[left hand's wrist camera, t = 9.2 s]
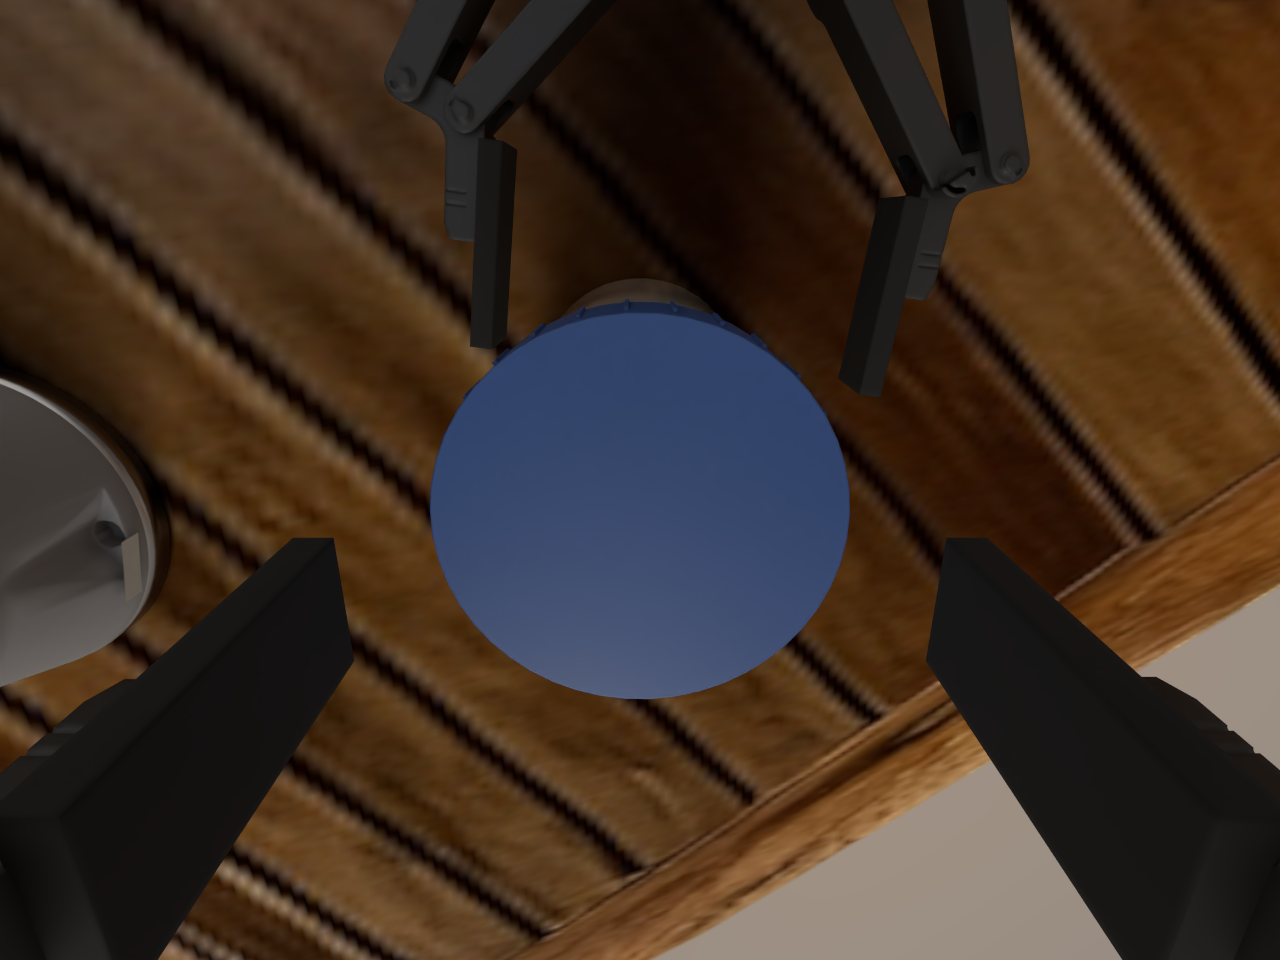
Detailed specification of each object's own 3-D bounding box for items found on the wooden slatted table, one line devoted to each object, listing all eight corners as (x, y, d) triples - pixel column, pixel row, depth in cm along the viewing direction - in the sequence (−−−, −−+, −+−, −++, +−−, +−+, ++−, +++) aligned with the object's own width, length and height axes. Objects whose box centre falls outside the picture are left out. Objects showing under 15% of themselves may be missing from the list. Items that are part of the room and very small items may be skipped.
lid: (431, 617, 20) (406, 664, 18) (477, 257, 17) (452, 262, 15) (769, 678, 21) (784, 731, 19) (879, 345, 18) (913, 362, 15)
